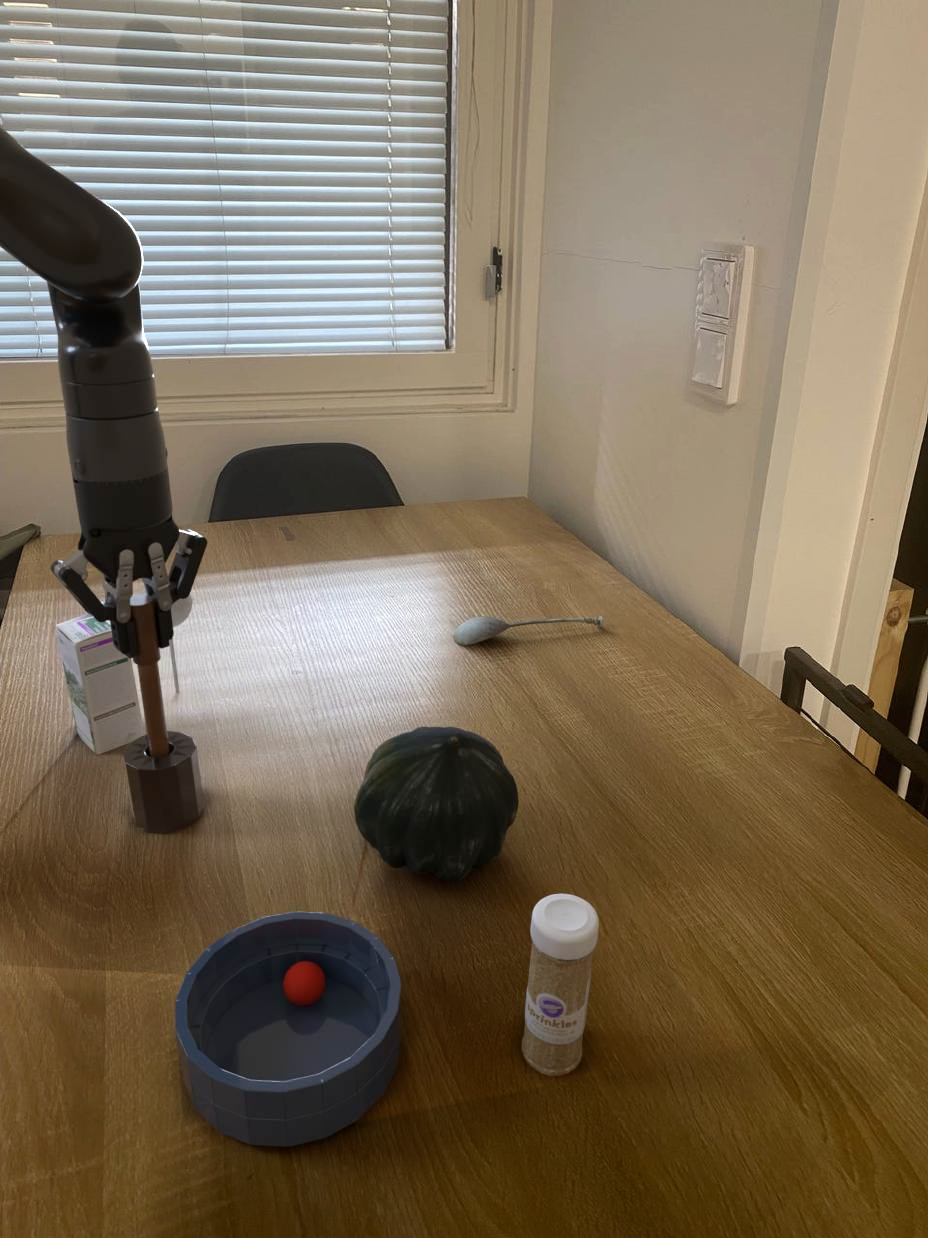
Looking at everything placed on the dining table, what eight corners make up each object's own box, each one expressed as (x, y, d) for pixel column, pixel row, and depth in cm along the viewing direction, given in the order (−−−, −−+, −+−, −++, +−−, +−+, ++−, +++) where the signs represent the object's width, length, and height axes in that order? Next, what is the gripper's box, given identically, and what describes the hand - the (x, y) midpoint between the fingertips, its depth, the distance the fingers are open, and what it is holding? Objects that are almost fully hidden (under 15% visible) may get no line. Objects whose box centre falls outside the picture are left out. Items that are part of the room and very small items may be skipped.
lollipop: (213, 686, 114) (200, 576, 107) (181, 708, 109) (166, 594, 102) (174, 675, 116) (159, 567, 109) (141, 696, 111) (124, 584, 105)
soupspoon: (448, 633, 130) (458, 656, 125) (448, 612, 129) (458, 635, 123) (593, 616, 135) (609, 638, 129) (595, 596, 133) (611, 617, 127)
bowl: (152, 1146, 60) (141, 1084, 57) (219, 963, 74) (212, 907, 72) (388, 1159, 60) (387, 1097, 57) (410, 972, 74) (410, 916, 71)
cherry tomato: (280, 1014, 69) (277, 983, 68) (289, 981, 72) (286, 951, 71) (322, 1016, 69) (320, 986, 68) (329, 983, 72) (327, 953, 70)
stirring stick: (150, 808, 89) (120, 605, 79) (158, 793, 91) (130, 593, 82) (174, 809, 89) (147, 606, 79) (182, 795, 91) (156, 595, 81)
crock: (124, 836, 88) (112, 768, 84) (148, 794, 94) (138, 729, 90) (191, 839, 88) (182, 771, 84) (211, 797, 94) (204, 732, 90)
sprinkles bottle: (520, 1076, 65) (531, 936, 60) (522, 1023, 70) (532, 888, 64) (584, 1082, 65) (601, 942, 59) (582, 1029, 69) (598, 893, 63)
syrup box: (147, 740, 103) (129, 625, 96) (95, 760, 99) (74, 642, 93) (125, 720, 106) (106, 607, 100) (74, 738, 103) (52, 623, 96)
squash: (379, 737, 94) (361, 693, 81) (523, 755, 93) (529, 713, 80) (356, 877, 89) (332, 856, 75) (507, 897, 88) (511, 879, 74)
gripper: (176, 441, 82) (195, 615, 89) (16, 468, 73) (51, 657, 81) (218, 460, 77) (234, 642, 84) (51, 491, 68) (86, 690, 76)
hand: (145, 649), depth 83 cm, fingers closed on stirring stick, 2 cm apart
